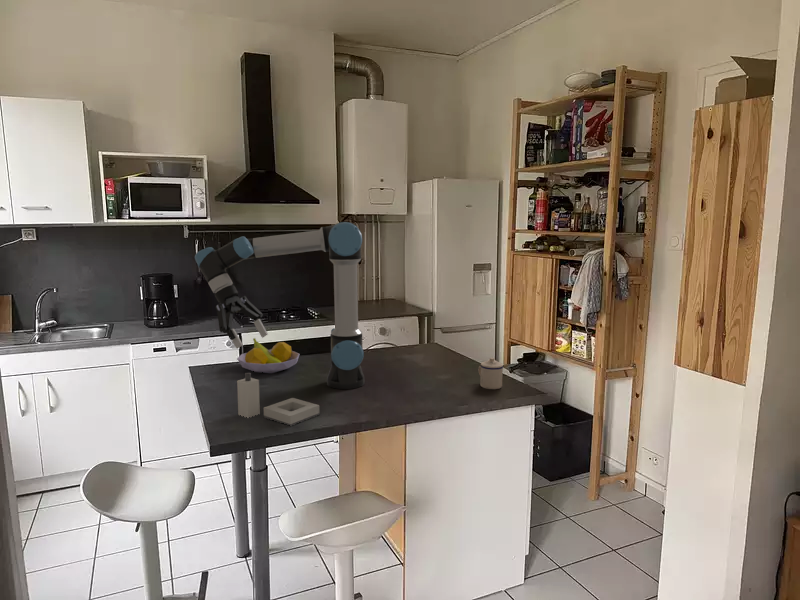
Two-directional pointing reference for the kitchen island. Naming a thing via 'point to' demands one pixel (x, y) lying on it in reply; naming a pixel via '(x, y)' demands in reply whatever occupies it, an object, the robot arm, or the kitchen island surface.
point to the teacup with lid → (491, 374)
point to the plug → (248, 396)
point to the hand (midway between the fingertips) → (252, 341)
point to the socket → (291, 411)
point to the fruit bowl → (268, 358)
